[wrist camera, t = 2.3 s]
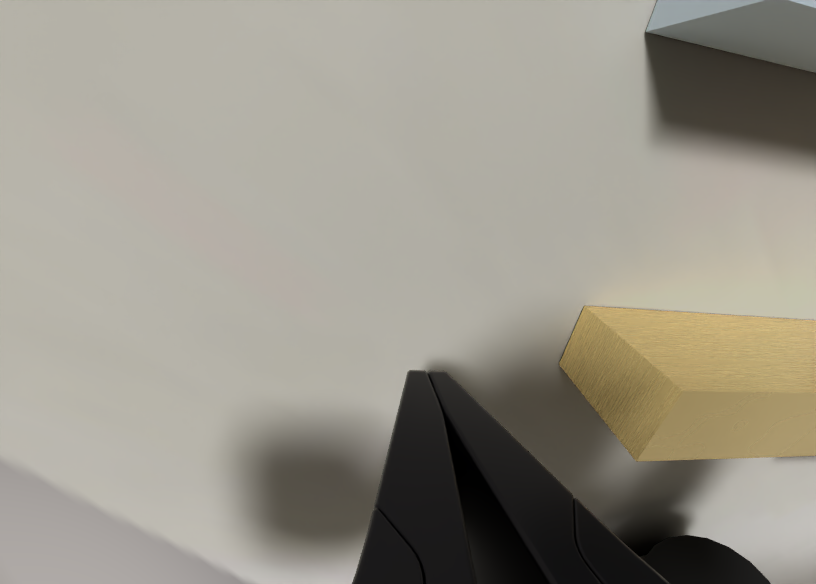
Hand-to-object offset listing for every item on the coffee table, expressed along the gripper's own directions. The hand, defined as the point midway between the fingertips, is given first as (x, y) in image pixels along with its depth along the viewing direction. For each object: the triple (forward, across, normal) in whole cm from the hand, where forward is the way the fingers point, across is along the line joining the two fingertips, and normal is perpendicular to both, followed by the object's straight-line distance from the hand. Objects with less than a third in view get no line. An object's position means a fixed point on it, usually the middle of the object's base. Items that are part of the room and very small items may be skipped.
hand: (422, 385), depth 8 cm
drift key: (+2, -10, 0) cm, 10 cm away
